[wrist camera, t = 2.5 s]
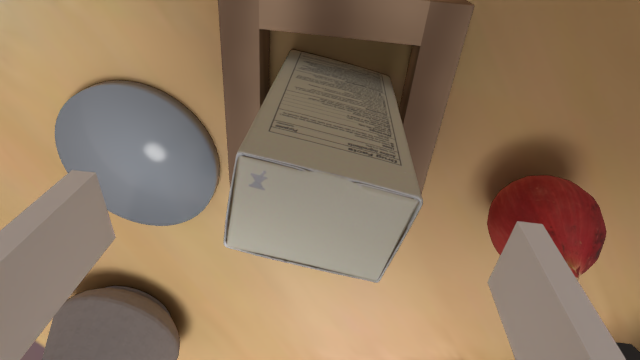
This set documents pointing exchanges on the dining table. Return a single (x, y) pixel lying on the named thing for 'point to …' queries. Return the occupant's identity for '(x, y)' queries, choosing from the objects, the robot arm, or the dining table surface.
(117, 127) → the coaster
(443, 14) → the pocket holder
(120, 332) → the coffee pot
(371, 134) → the skincare box
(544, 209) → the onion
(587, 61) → the dining table surface
